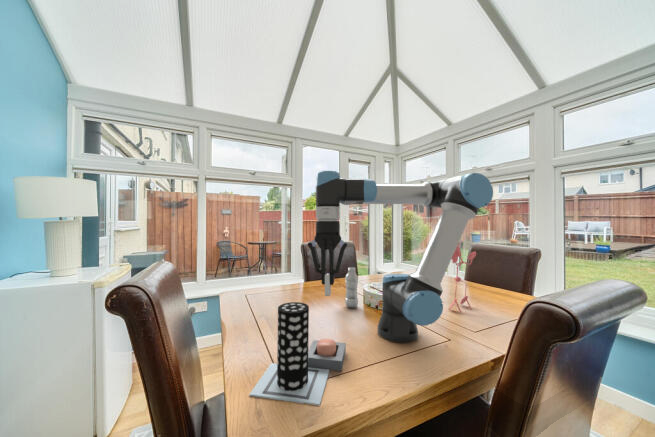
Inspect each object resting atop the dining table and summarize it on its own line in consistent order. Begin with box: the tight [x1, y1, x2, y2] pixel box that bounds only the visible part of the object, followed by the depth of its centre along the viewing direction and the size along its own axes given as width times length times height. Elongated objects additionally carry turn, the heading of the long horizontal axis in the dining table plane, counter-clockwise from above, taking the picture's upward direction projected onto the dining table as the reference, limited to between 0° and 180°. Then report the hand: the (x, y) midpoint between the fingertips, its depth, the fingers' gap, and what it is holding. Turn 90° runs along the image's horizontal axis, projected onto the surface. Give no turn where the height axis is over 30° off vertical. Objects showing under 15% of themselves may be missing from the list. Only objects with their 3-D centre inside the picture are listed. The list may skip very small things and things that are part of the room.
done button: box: [317, 338, 337, 357], centre depth 81 cm, size 6×6×4 cm
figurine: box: [448, 241, 480, 313], centre depth 130 cm, size 15×26×35 cm, turn 123°
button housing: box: [308, 339, 347, 372], centre depth 81 cm, size 11×11×3 cm
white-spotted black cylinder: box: [276, 301, 310, 391], centre depth 69 cm, size 8×8×20 cm
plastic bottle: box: [344, 266, 359, 309], centre depth 128 cm, size 6×7×20 cm
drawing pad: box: [249, 362, 331, 406], centre depth 69 cm, size 18×14×1 cm
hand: (327, 294), depth 81 cm, fingers closed
